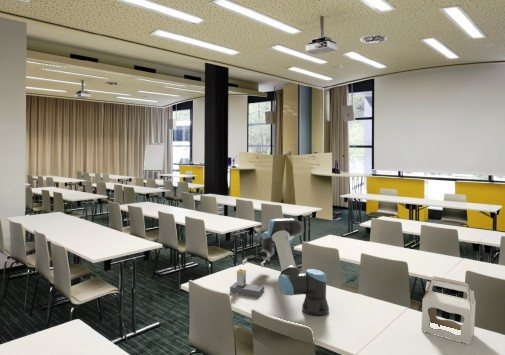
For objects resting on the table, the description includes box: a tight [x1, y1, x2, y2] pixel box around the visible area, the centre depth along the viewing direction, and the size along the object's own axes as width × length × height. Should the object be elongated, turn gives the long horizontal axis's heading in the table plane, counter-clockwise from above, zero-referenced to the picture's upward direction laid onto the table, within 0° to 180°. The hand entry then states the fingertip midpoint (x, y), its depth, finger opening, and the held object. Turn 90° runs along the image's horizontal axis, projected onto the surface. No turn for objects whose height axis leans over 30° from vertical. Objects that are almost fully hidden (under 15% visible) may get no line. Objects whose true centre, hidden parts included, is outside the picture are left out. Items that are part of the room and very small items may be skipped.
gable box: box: [420, 276, 477, 345], centre depth 190 cm, size 22×13×28 cm, turn 52°
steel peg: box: [236, 268, 247, 288], centre depth 244 cm, size 4×4×14 cm
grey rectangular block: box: [229, 281, 265, 298], centre depth 243 cm, size 20×9×4 cm, turn 68°
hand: (252, 264), depth 253 cm, fingers open, 13 cm apart
